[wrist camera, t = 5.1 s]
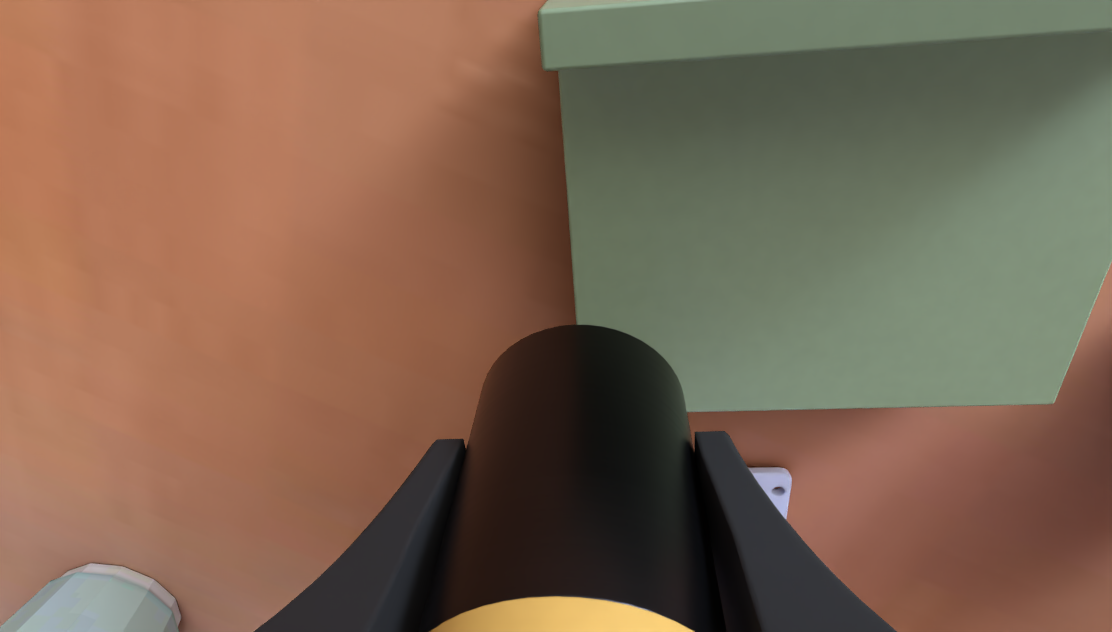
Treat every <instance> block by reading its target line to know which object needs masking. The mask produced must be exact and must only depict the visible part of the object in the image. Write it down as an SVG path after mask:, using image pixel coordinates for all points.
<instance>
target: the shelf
mask: <svg viewBox="0 0 1112 632" xmlns="http://www.w3.org/2000/svg"><path fill="white" fill-rule="evenodd" d="M538 27H539V39H540V51H541V63H542V68H543V70H544V71H547V72H548V71H558V76H559V90H560V104H561V118H562V132H563V145H564V159H565V173H566V187H567V201H568V215H569V229H570V243H571V257H572V271H573V285H574V299H575V313H576V325H595V326H603V327H607V328H612V329H616V330H619V331H621V332H624V333H627V334H630V335H632V336H634V337H636V338H638V339H640V340H642V341H643V342H645V343H646V344H647V345H649V346H650V347H652V348H653V349H654V350H656V351H657V352H658V353H659V354H660V355H661V356H662V357H663V358H664V359H665V360H666V361H667V362H668V364H669V365H670V366H671V367H672V369H673V370H674V372H675V374H676V375H677V377H678V379H679V382H680V384H681V387H682V390H683V395H684V399H685V405H686V410H687V412H717V411H764V410H810V409H856V408H902V407H949V406H995V405H1041V404H1053V403H1054V402H1055V399H1056V397H1057V395H1058V392H1059V390H1060V387H1061V385H1062V382H1063V380H1064V377H1065V375H1066V372H1067V370H1068V367H1069V365H1070V363H1071V360H1072V358H1073V355H1074V353H1075V350H1076V348H1077V345H1078V343H1079V340H1080V338H1081V335H1082V333H1083V331H1084V328H1085V326H1086V323H1087V321H1088V318H1089V316H1090V313H1091V311H1092V308H1093V306H1094V303H1095V301H1096V299H1097V296H1098V294H1099V291H1100V289H1101V286H1102V284H1103V281H1104V279H1105V276H1106V274H1107V271H1108V269H1109V267H1110V264H1111V262H1112V0H547V1H546V3H545V4H544V5H543V6H542V7H541V9H540V10H539V11H538Z"/></svg>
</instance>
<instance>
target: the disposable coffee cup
mask: <svg viewBox="0 0 1112 632" xmlns="http://www.w3.org/2000/svg"><path fill="white" fill-rule="evenodd" d="M180 620H181V615H180V612H179V608H178V605H177V602H176V599H175V598H174V597H173V596H172V595H171V594H170V593H169V592H168V591H166V590H165V589H164V588H163V587H162V586H161V585H160V584H159V583H158V582H156V581H155V580H154V579H152V578H149V577H147V576H145V575H142V574H140V573H138V572H135V571H133V570H130V569H128V568H126V567H123V566H114V565H104V564H94V563H90V564H87V565H84V566H81V567H78V568H75V569H72V570H69V571H67V572H66V573H65V574H64V575H63V576H61V577H60V578H58V579H55V580H52V581H50V582H49V583H48V584H47V585H46V586H45V587H43V588H42V589H41V590H40V591H39V592H38V593H37V594H36V595H35V596H34V597H32V598H31V599H30V600H29V601H28V602H27V603H26V604H25V605H24V606H23V607H21V608H20V609H19V610H18V611H17V612H16V613H15V614H14V615H13V616H12V617H10V618H9V619H8V620H7V621H6V622H5V623H4V624H3V625H2V626H1V627H0V632H179V630H178V625H179V622H180Z"/></svg>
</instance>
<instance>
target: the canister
mask: <svg viewBox="0 0 1112 632" xmlns="http://www.w3.org/2000/svg"><path fill="white" fill-rule="evenodd" d="M418 632H727V630H726V625H725V619H724V614H723V608H722V603H721V597H720V592H719V586H718V581H717V575H716V570H715V564H714V559H713V553H712V548H711V542H710V537H709V531H708V526H707V520H706V515H705V509H704V504H703V498H702V493H701V487H700V482H699V476H698V471H697V465H696V460H695V454H694V449H693V443H692V438H691V432H690V427H689V421H688V416H687V410H686V405H685V399H684V395H683V390H682V387H681V384H680V382H679V379H678V377H677V375H676V374H675V372H674V370H673V369H672V367H671V366H670V365H669V364H668V362H667V361H666V360H665V359H664V358H663V357H662V356H661V355H660V354H659V353H658V352H657V351H656V350H654V349H653V348H652V347H650V346H649V345H647V344H646V343H645V342H643V341H642V340H640V339H638V338H636V337H634V336H632V335H630V334H627V333H624V332H621V331H619V330H616V329H612V328H607V327H603V326H595V325H565V326H558V327H553V328H548V329H545V330H542V331H539V332H536V333H533V334H531V335H529V336H527V337H525V338H523V339H521V340H520V341H518V342H517V343H515V344H514V345H512V346H511V347H510V348H508V349H507V350H506V351H505V352H504V353H503V354H502V355H501V356H500V357H499V358H498V359H497V360H496V362H495V363H494V364H493V366H492V367H491V369H490V370H489V372H488V374H487V376H486V379H485V381H484V384H483V387H482V391H481V395H480V399H479V403H478V406H477V410H476V414H475V418H474V422H473V425H472V429H471V433H470V437H469V441H468V445H467V448H466V452H465V456H464V460H463V464H462V467H461V471H460V475H459V479H458V483H457V486H456V490H455V494H454V498H453V502H452V506H451V509H450V513H449V517H448V521H447V525H446V528H445V532H444V536H443V540H442V544H441V548H440V551H439V555H438V559H437V563H436V567H435V570H434V574H433V578H432V582H431V586H430V590H429V593H428V597H427V601H426V605H425V609H424V612H423V616H422V620H421V624H420V628H419V631H418Z"/></svg>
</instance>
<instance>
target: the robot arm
mask: <svg viewBox="0 0 1112 632" xmlns="http://www.w3.org/2000/svg"><path fill="white" fill-rule="evenodd" d="M465 452H466V448H465V444H464V439H440V440H436V441H435V442H434V443H433V444H432V445H431V447H430V448H429V449H428V451H427V452H426V453H425V455H424V456H423V458H422V459H421V460H420V462H419V463H418V464H417V466H416V467H415V468H414V470H413V471H412V472H411V474H410V475H409V476H408V478H407V479H406V480H405V482H404V483H403V484H402V485H401V487H400V488H399V489H398V491H397V492H396V493H395V494H394V495H393V497H392V498H391V499H390V500H389V502H388V503H387V504H386V505H385V507H384V508H383V509H382V510H381V512H380V513H379V514H378V515H377V516H376V518H375V519H374V520H373V521H372V522H371V523H370V524H369V525H368V527H367V528H366V529H365V530H364V531H363V532H362V533H361V534H360V536H359V537H358V538H357V539H356V540H355V541H354V542H353V543H352V544H351V546H350V547H349V548H348V549H347V550H346V551H345V552H344V553H343V554H342V555H341V556H340V557H339V558H338V559H337V560H336V561H335V562H334V563H333V564H332V565H331V566H330V567H329V568H328V569H327V570H326V571H325V572H324V573H323V574H322V575H321V576H320V577H319V578H317V579H316V580H315V581H314V582H313V583H312V584H311V585H310V586H309V587H307V588H306V589H305V590H304V591H303V592H302V593H301V594H299V595H298V596H297V597H296V598H295V599H294V600H292V601H291V602H290V603H289V604H288V605H286V606H285V607H284V608H283V609H282V610H281V611H279V612H278V613H277V614H276V615H275V616H273V617H272V618H271V619H270V620H268V621H267V622H266V623H264V624H263V625H262V626H260V627H259V628H258V629H257V630H255V631H254V632H418V631H419V628H420V624H421V620H422V616H423V612H424V609H425V605H426V601H427V597H428V593H429V590H430V586H431V582H432V578H433V574H434V570H435V567H436V563H437V559H438V555H439V551H440V548H441V544H442V540H443V536H444V532H445V528H446V525H447V521H448V517H449V513H450V509H451V506H452V502H453V498H454V494H455V490H456V486H457V483H458V479H459V475H460V471H461V467H462V464H463V460H464V456H465ZM694 454H695V460H696V465H697V471H698V476H699V482H700V487H701V493H702V498H703V504H704V509H705V515H706V520H707V526H708V531H709V537H710V542H711V548H712V553H713V559H714V564H715V570H716V575H717V581H718V586H719V592H720V597H721V603H722V608H723V614H724V619H725V625H726V630H727V632H897V631H895V630H894V629H893V628H892V627H891V626H890V625H889V624H887V623H886V622H885V621H884V620H883V619H882V618H881V617H879V616H878V615H877V614H876V613H875V612H874V611H873V610H871V609H870V608H869V607H868V606H867V605H866V604H865V603H863V602H862V601H861V600H860V599H859V598H858V597H857V596H856V595H855V594H854V593H853V592H852V591H851V590H850V589H849V588H848V587H847V586H846V585H845V584H844V583H843V582H841V581H840V580H839V579H838V578H837V577H836V576H835V575H834V573H833V572H832V571H831V570H830V569H829V568H828V567H827V566H826V565H825V564H824V563H823V562H822V561H821V560H820V559H819V558H818V557H817V556H816V554H815V553H814V552H813V551H812V550H811V549H810V548H809V547H808V546H807V544H806V543H805V542H804V541H803V540H802V539H801V537H800V536H799V535H798V534H797V533H796V531H795V530H794V529H793V528H792V527H791V525H790V524H789V523H788V522H787V521H786V517H787V510H788V504H789V497H790V491H791V484H792V479H791V475H790V473H789V471H788V470H787V469H785V468H781V467H757V468H748V467H747V465H746V464H745V462H744V460H743V459H742V457H741V456H740V454H739V452H738V451H737V449H736V447H735V445H734V444H733V442H732V440H731V438H730V436H729V435H728V434H727V433H726V432H725V431H711V432H695V449H694ZM775 487H780V488H777V489H774V488H775Z"/></svg>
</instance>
